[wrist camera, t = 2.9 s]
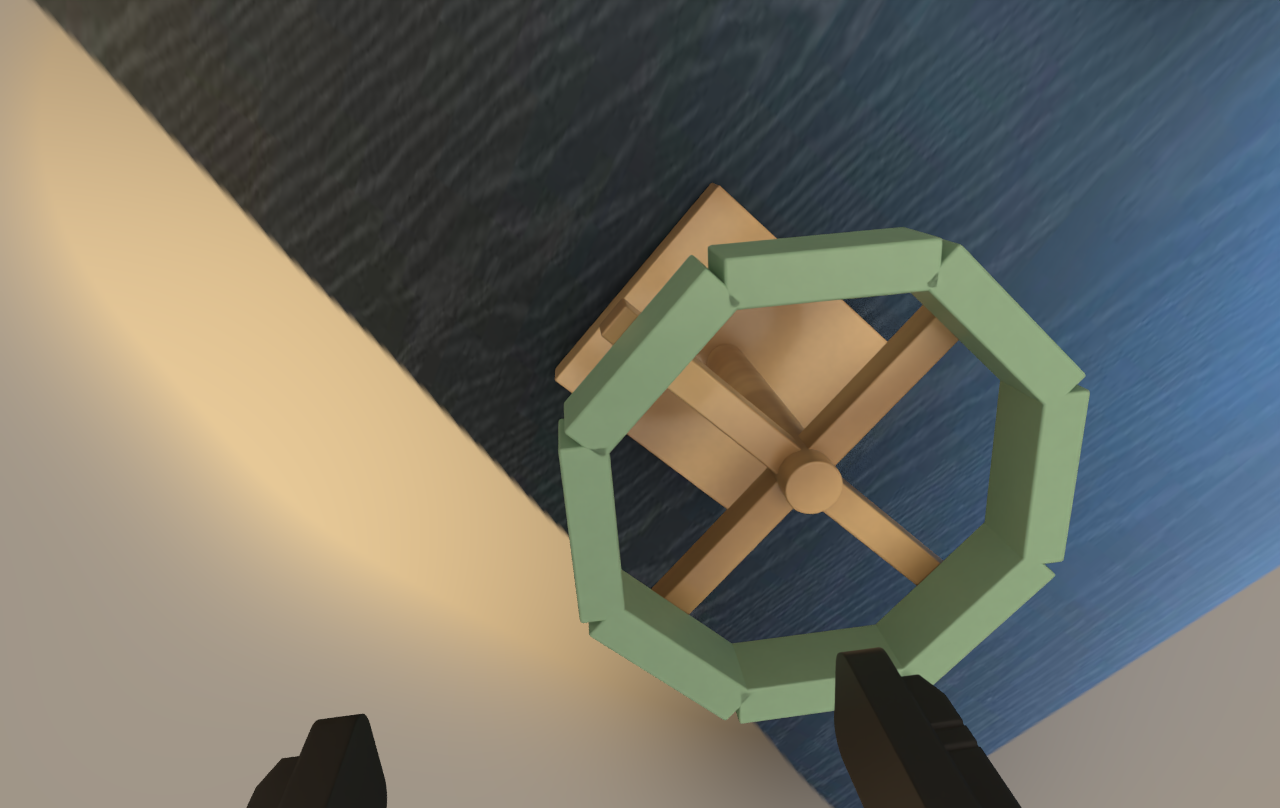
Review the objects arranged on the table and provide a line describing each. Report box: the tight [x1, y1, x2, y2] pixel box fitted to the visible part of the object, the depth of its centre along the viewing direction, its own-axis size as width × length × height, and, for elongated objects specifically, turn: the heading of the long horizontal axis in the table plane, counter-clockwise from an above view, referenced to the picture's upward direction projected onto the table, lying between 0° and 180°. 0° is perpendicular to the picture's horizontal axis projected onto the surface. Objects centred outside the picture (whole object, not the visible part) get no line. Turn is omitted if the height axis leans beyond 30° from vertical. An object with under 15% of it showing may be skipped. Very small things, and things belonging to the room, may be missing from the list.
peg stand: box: [555, 183, 959, 615], centre depth 26 cm, size 14×14×13 cm
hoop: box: [558, 227, 1090, 723], centre depth 19 cm, size 13×13×2 cm
